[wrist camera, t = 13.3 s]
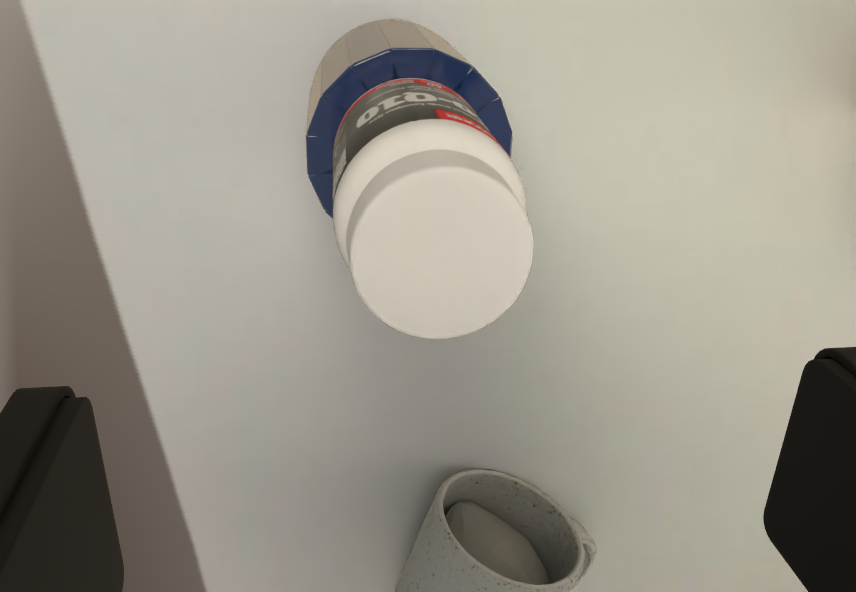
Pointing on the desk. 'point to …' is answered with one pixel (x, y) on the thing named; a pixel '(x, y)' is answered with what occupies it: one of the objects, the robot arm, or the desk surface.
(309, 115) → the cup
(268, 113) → the desk surface
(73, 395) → the robot arm
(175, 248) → the desk surface
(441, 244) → the pill bottle
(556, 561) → the ceramic mug
